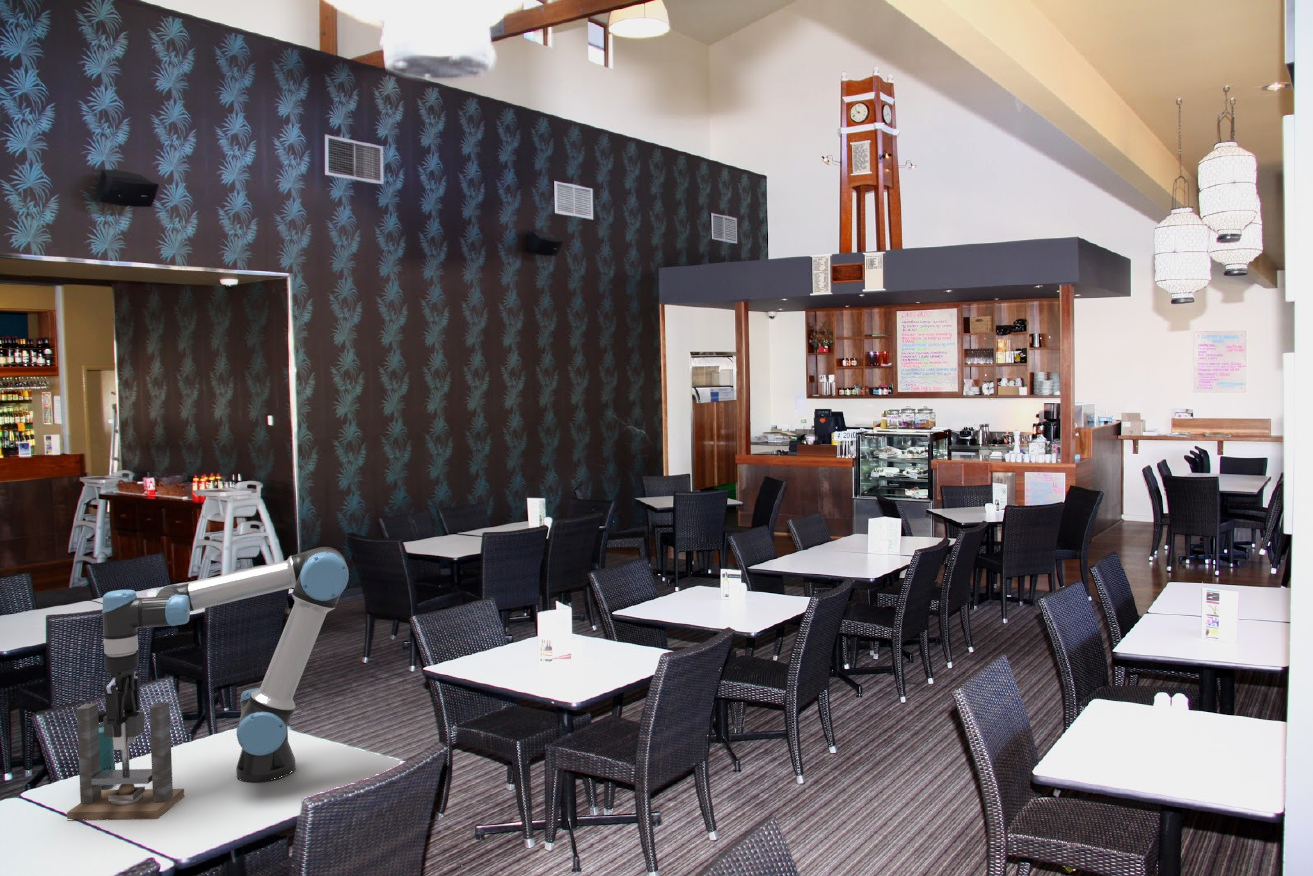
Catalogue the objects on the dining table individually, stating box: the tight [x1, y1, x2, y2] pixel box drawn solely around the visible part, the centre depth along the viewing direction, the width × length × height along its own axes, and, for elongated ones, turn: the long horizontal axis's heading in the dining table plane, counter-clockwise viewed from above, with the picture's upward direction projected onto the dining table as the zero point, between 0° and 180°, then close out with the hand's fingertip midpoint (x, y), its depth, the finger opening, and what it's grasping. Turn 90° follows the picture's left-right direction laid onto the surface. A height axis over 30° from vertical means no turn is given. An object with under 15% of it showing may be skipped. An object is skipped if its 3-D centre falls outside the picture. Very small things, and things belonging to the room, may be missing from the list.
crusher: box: [91, 711, 152, 786], centre depth 253 cm, size 14×6×16 cm, turn 90°
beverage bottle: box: [98, 710, 116, 787], centre depth 267 cm, size 6×7×20 cm
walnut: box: [118, 784, 136, 795], centre depth 254 cm, size 4×4×4 cm
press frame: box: [66, 701, 185, 821], centre depth 253 cm, size 22×14×26 cm, turn 90°
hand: (125, 745), depth 253 cm, fingers closed on crusher, 4 cm apart
